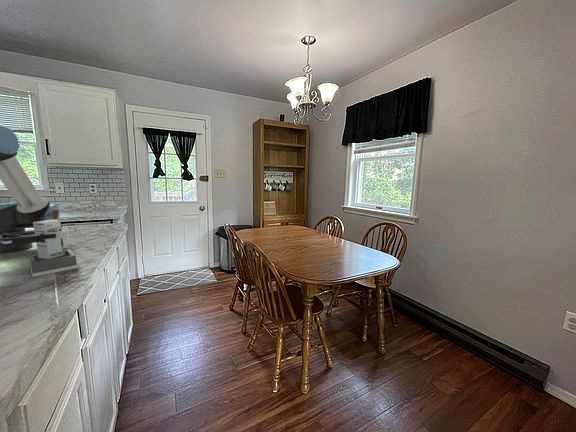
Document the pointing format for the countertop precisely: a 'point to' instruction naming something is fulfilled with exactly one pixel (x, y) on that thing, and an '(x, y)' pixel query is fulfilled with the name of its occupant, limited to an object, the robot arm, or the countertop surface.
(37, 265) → the box
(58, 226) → the syrup box
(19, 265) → the countertop surface
